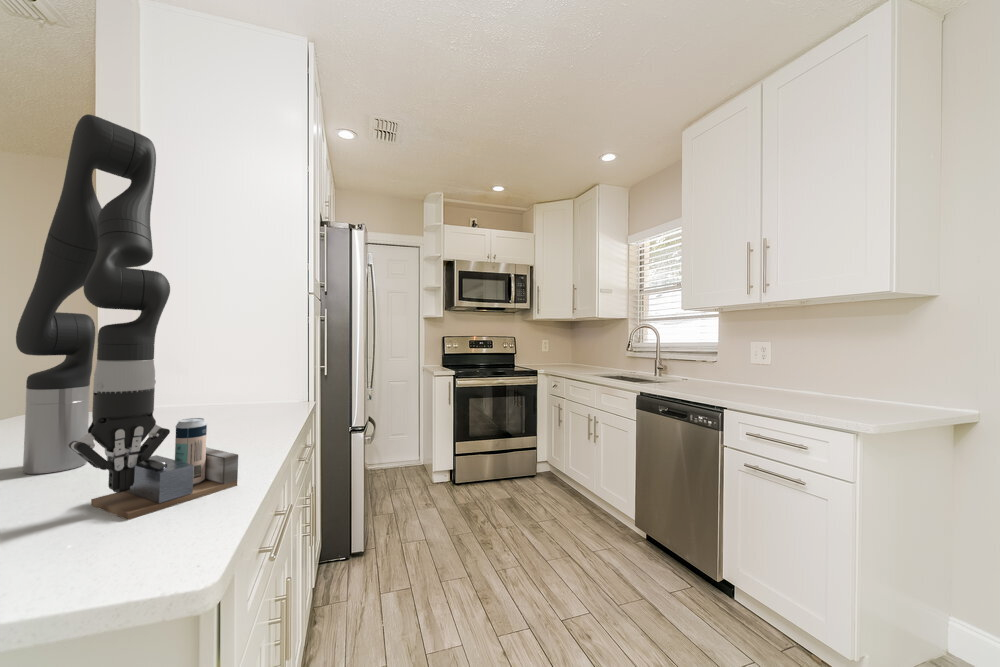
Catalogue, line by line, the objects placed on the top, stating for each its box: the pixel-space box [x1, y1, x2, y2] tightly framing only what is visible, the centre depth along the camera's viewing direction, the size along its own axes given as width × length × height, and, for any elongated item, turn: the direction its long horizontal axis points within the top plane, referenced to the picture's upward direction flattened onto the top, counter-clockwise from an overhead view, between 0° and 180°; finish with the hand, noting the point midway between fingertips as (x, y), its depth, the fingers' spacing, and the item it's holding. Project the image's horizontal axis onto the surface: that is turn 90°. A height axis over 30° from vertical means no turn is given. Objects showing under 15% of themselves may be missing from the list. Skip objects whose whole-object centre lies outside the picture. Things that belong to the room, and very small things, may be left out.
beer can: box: [174, 417, 208, 485], centre depth 76 cm, size 5×5×12 cm
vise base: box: [90, 446, 239, 521], centre depth 73 cm, size 12×17×6 cm
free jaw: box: [126, 454, 194, 503], centre depth 72 cm, size 12×5×6 cm, turn 65°
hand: (120, 490), depth 67 cm, fingers closed
